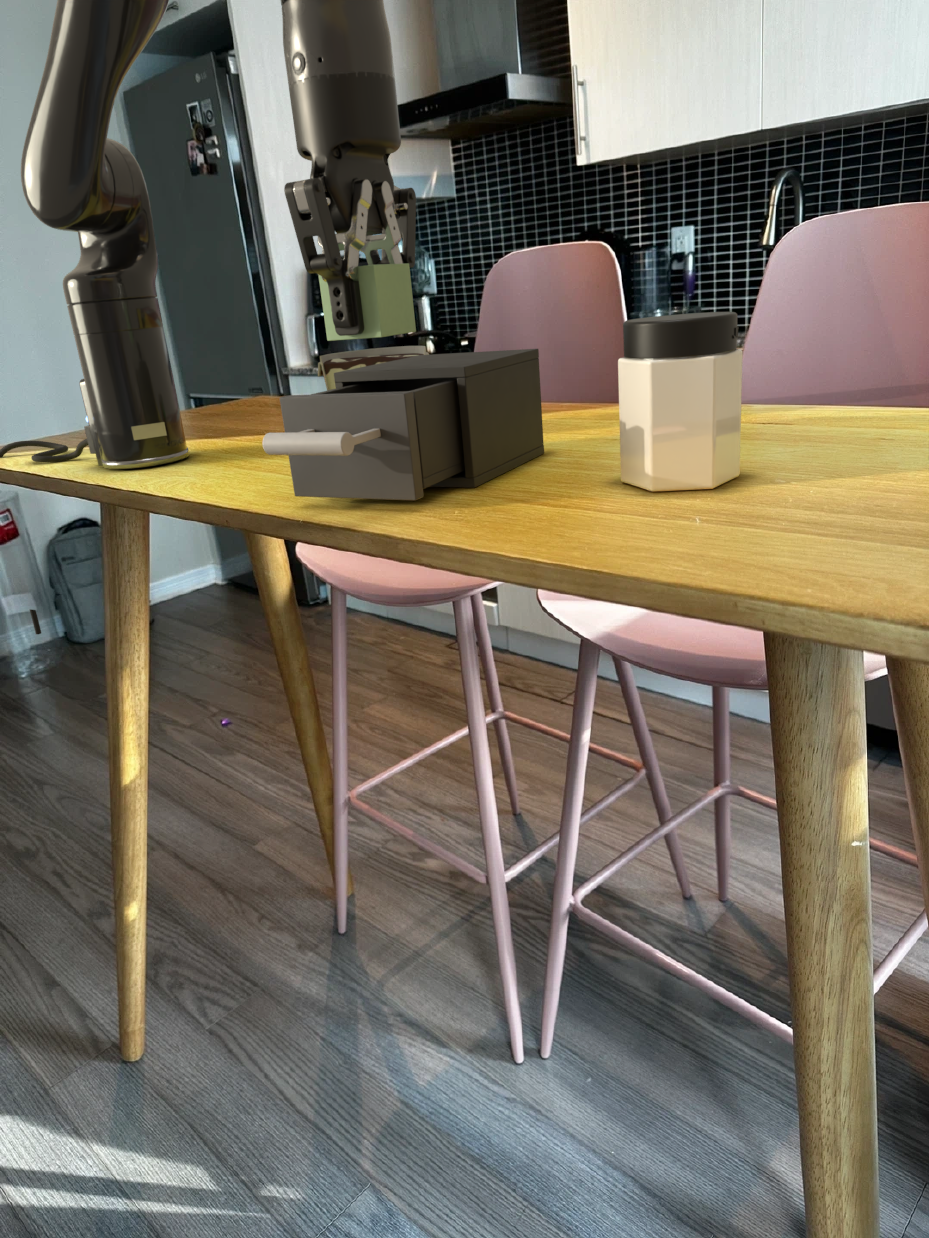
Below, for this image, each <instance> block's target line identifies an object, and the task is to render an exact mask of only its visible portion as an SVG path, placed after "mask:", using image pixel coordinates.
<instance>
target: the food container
mask: <svg viewBox="0 0 929 1238" xmlns="http://www.w3.org/2000/svg"><path fill="white" fill-rule="evenodd" d="M419 355H430V353H429V352H428V351H427V348H426V346H425V345H404V346H403V345H402V346H388V347H387V346H386V347H377V348H367V349H356V350H349V351H341V352H340V351H339V352H334V353H327V354H323V355H319V362H317V377H319V378H320V377H322V376H323V379H324V383H325V387H326V391H328V390H332V389H336V387H335V383H336V382H335V379H334V373H336V372H341V371H346V370H350V369H355V368H360V367H365V366H370V365H375V364H380V363H385V362H390V361H394V360H399V359H404V358H409V357H414V356H419Z"/></svg>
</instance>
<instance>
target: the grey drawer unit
mask: <svg viewBox="0 0 929 1238" xmlns="http://www.w3.org/2000/svg"><path fill="white" fill-rule="evenodd" d="M433 378H457V384H458V395H459V407H460V418H461V430H462V441H463V453H464V464H465V471H462V472H460V473H458V474H456V475H453V476H451V477H449V478H447V479H445V480H442V481H440V482H438V483H436V484H434V485H431V486H429V487H428V488H464V489H465V488H467V489H470V488H471V489H475V488H478V487H479V486H481V485H483V484H485V483H487V482H489V481H491V480H493V479H495V478H497V477H500V476H501V475H504V474H506V473H508V472H509V471H511V470H514V469H515V468H518V467H519V466H521V465H523V464H525V463H527V462H529V461H531V460H534V459H536V458H538V457H539V456H542V455H544V454H545V445H544V443H545V442H544V428H543V427H544V426H543V425H544V424H543V408H542V393H541V373H540V351H539V348H524V349H523V348H522V349H506V350H505V349H503V350H491V351H490V350H487V351H470V352H453V353H452V352H451V353H435V354H429V355H419V356H414V357H409V358H404V359H399V360H394V361H390V362H385V363H380V364H375V365H370V366H365V367H360V368H355V369H350V370H346V371H341V372H336V373H334V379H335V382H336V383H335V387H336V388H341V387H345V386H349V385H354V384H358V383H362V382H367V381H385V380H409V379H433Z"/></svg>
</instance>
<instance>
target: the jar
mask: <svg viewBox="0 0 929 1238" xmlns="http://www.w3.org/2000/svg"><path fill="white" fill-rule="evenodd" d="M622 332H623V333H622V335H623V336H622V337H623V357H620V358H618V360H617V374H618V375H617V378H618V379H617V380H618V381H617V382H618V384H617V385H618V417H619V418H618V420H619V422H618V424H619V425H618V426H619V461H620V462H619V464H620V481H621V482H622V483H624V484H628V485H631V486H634V487H637V488H640V489H643V490H647V491H649V492H674V491H695V490H713V489H715V488H717V487H719V486H721V485H723V484H725V483H727V482H729V481H732V480H733V479H736V478H738V477H739V476H740V474H741V472H740V471H741V436H742V435H741V434H742V393H743V350H742V349H741V348H738V338H739V325H738V313H737V312H735V311H710V312H709V311H708V312H692V313H679V314H669V315H668V314H667V315H657V316H648V317H639V318H633V319H628V320H625V321H624V322H623V323H622Z"/></svg>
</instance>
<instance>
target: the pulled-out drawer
mask: <svg viewBox="0 0 929 1238" xmlns="http://www.w3.org/2000/svg"><path fill="white" fill-rule="evenodd" d="M279 404H280V410H281V416H282V422H283V423H282V424H283V429H284V432H267V433H265V435H264V436H263V437H262V448H263V451H264V452H265V454H267V455H269V456H288V460H289V461H288V462H289V467H290V474H291V475H290V476H291V480H292V486H293V493H294V497H297V498H298V497H299V498H328V499H329V498H330V499H331V498H332V499H357V500H358V499H361V500H388V501H389V500H392V501H418V500H420V499H423V498H424V490H425V489H427V488H430V487H429V486H431V485H434V484H436V483H438V482H440V481H442V480H445V479H447V478H449V477H451V476H453V475H456V474H458V473H460V472H462V471H465V464H464V453H463V441H462V430H461V418H460V407H459V395H458V384H457V378H433V379H409V380H385V381H367V382H362V383H358V384H354V385H349V386H345V387H341V388H336V389H332V390H328V391H327V390H324V391H320V392H316V393H315V392H314V393H311V394H291V395H290V394H288V395H284V396H280V397H279Z"/></svg>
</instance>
